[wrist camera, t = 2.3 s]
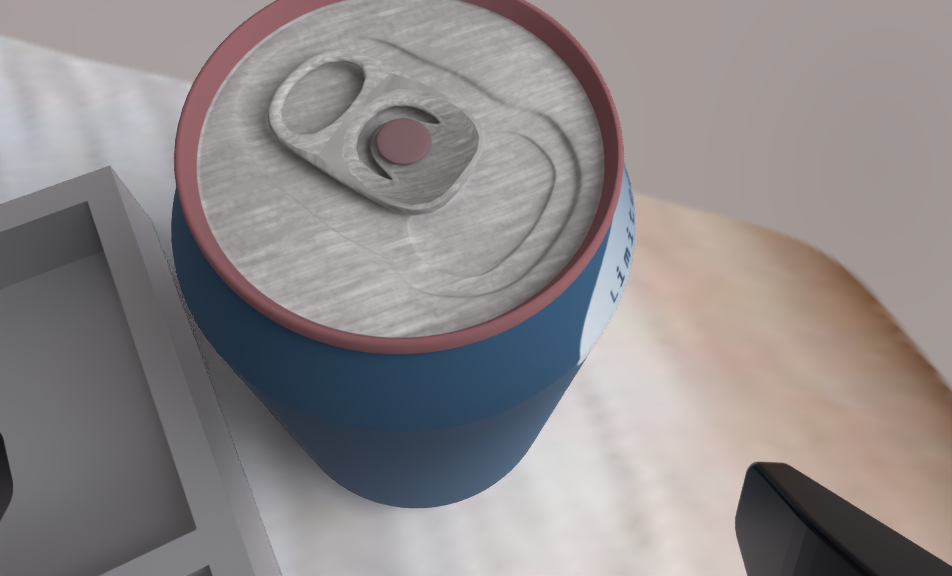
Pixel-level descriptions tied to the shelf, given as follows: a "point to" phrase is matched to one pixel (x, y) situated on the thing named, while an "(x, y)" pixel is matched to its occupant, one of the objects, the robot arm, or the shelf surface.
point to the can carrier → (110, 402)
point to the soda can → (403, 230)
